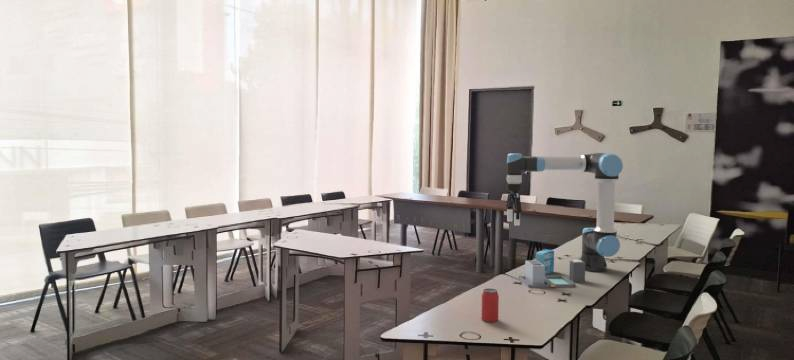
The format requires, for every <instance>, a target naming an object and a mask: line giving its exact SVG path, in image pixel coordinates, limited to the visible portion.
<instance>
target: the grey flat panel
mask: <svg viewBox="0 0 794 360" xmlns="http://www.w3.org/2000/svg"><path fill="white" fill-rule="evenodd" d="M518 280H520V281H521V282H522V283H523V284H525V286H526V287H527V288H528V289H539V288H540V289H542V288H544V289H545V288H551V289H552V288H576V285H577V284H576V283H575V282H572V281H571V280H569V278H567V277H565V276H564V275H545V284H534V285H530V284H529V283H528V282H527V281H526V280H525V275H519V276H518Z"/></svg>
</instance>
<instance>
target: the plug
mask: <svg viewBox="0 0 794 360" xmlns="http://www.w3.org/2000/svg"><path fill="white" fill-rule="evenodd" d="M568 280H570V281H571V282H573V283H585V282H586V270H585V262H583V261H581V260H580V259H573V260H569V277H568Z"/></svg>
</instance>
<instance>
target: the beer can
mask: <svg viewBox="0 0 794 360" xmlns="http://www.w3.org/2000/svg"><path fill="white" fill-rule="evenodd" d="M499 299H500V298H499V293H498V290H497V289H496V288H495V289H494V288H484V289H483V291H482V293H481V319H482V321H484V322H487V323H495V322H497V321H498V320H499V305H500V304H499Z"/></svg>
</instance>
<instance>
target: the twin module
mask: <svg viewBox="0 0 794 360" xmlns="http://www.w3.org/2000/svg"><path fill="white" fill-rule="evenodd" d="M524 266H525V267H524V268H525V270H524V273H525V274H524V276H525V280H526V281H527V282H528V283H529V284H530V285H534V284H545V276H546V274H545V266H544V265H543V264H541V263H540V262H539V261H537V260H536V259H535V260H534V259H533V260H525V265H524Z"/></svg>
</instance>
